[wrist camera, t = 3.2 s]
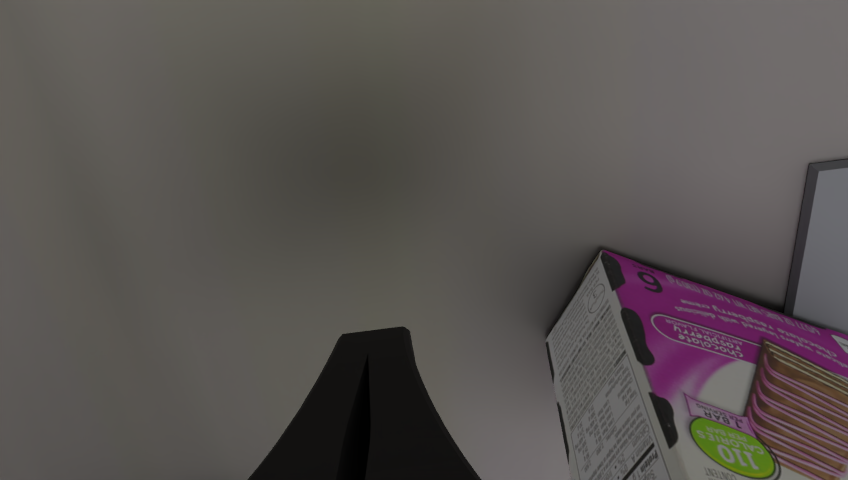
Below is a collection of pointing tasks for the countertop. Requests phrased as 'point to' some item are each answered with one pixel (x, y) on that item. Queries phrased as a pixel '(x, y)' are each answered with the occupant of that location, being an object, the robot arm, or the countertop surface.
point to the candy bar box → (694, 383)
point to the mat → (822, 250)
